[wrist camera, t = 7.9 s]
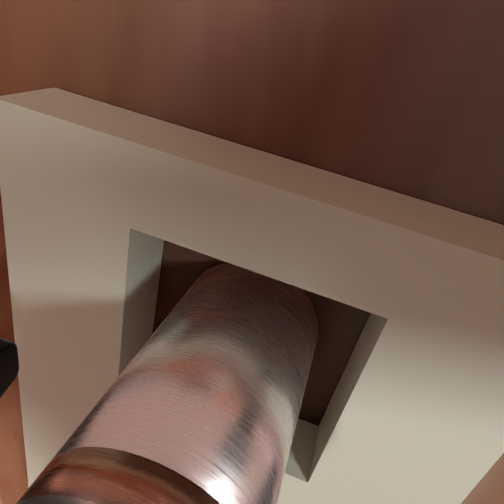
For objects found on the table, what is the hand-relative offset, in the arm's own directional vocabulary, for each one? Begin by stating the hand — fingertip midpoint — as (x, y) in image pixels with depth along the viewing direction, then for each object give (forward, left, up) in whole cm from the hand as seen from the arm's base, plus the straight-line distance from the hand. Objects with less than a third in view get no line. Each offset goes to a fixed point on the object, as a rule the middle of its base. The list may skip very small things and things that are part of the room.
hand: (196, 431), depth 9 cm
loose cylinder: (0, 0, -4) cm, 4 cm away
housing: (0, +4, -4) cm, 6 cm away
